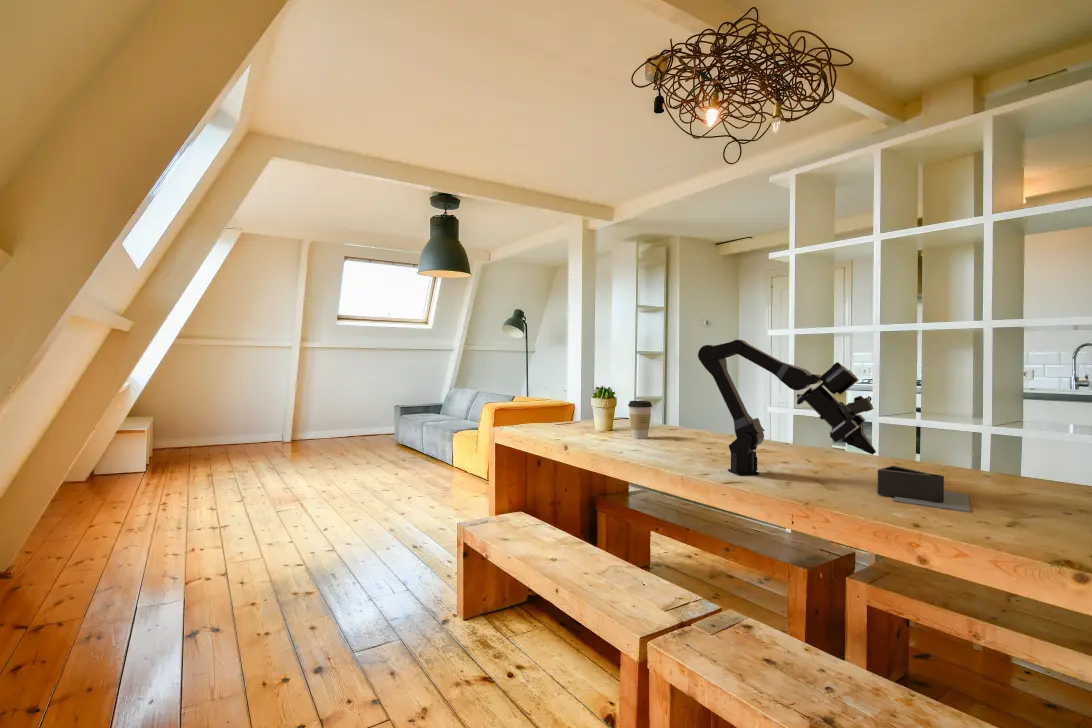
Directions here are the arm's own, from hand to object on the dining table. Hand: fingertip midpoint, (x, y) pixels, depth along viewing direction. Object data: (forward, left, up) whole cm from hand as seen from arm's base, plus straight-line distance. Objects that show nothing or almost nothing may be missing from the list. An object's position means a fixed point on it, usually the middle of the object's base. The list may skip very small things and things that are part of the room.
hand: (874, 453), depth 133 cm
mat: (+8, -9, -9) cm, 15 cm away
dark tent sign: (+1, -2, -6) cm, 7 cm away
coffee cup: (-26, +91, -10) cm, 95 cm away
